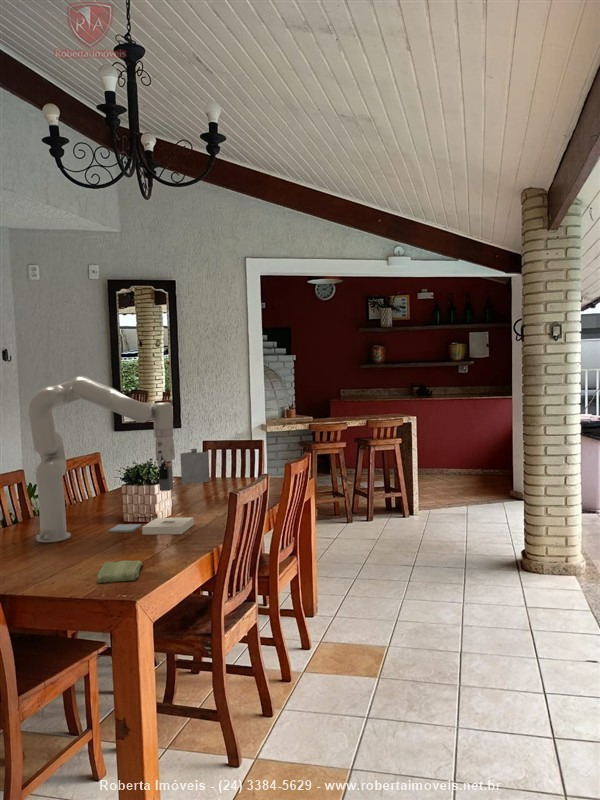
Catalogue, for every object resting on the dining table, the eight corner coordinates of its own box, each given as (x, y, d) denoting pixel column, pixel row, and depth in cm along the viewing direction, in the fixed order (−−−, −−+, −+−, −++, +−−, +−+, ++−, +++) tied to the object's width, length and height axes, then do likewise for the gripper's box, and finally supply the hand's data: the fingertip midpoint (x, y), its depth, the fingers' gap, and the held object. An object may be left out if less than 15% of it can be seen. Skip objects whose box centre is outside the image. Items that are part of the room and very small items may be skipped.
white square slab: (181, 534, 259) (181, 526, 259) (142, 534, 261) (142, 527, 261) (193, 524, 275) (193, 517, 275) (156, 524, 277) (156, 517, 277)
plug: (169, 490, 265) (168, 463, 264) (159, 490, 265) (157, 463, 265) (173, 488, 269) (172, 461, 269) (163, 488, 270) (161, 462, 269)
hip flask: (209, 482, 382) (208, 447, 382) (209, 483, 378) (207, 448, 378) (182, 483, 382) (180, 448, 381) (181, 484, 378) (179, 449, 377)
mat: (131, 532, 266) (131, 530, 266) (108, 532, 268) (108, 530, 268) (141, 526, 276) (141, 524, 276) (118, 526, 277) (118, 524, 277)
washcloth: (144, 565, 219) (143, 556, 219) (138, 582, 202) (137, 572, 202) (103, 569, 218) (102, 559, 218) (93, 586, 200) (93, 575, 200)
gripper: (165, 434, 257) (167, 481, 258) (179, 430, 274) (181, 474, 275) (147, 435, 259) (149, 481, 259) (162, 431, 275) (164, 475, 276)
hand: (165, 477), depth 267 cm, fingers closed on plug, 4 cm apart
